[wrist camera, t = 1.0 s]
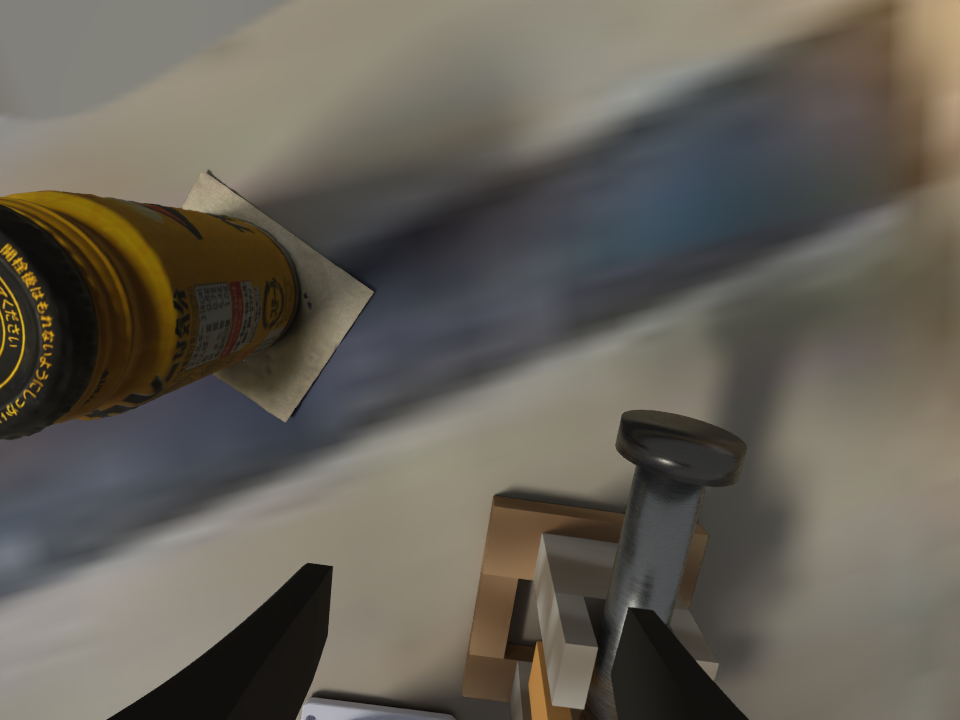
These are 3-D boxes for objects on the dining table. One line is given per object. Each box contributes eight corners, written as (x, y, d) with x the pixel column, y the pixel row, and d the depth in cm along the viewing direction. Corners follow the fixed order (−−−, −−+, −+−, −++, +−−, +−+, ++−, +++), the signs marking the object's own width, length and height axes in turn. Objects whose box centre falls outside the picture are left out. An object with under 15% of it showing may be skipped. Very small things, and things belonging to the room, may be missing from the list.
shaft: (627, 748, 21) (658, 855, 17) (538, 737, 21) (550, 842, 17) (712, 418, 18) (773, 462, 14) (608, 403, 18) (642, 443, 14)
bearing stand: (652, 703, 26) (719, 884, 19) (463, 679, 26) (454, 852, 18) (699, 523, 24) (798, 647, 16) (493, 495, 24) (498, 607, 16)
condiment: (205, 171, 21) (-164, 63, 9) (375, 291, 22) (245, 337, 10) (123, 312, 22) (-292, 381, 10) (288, 420, 23) (82, 596, 11)
